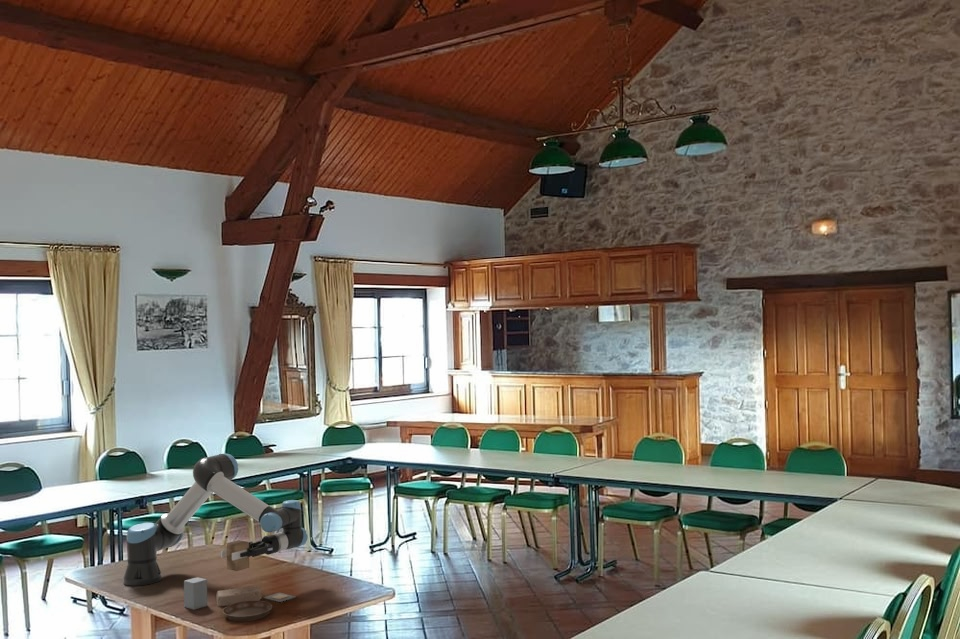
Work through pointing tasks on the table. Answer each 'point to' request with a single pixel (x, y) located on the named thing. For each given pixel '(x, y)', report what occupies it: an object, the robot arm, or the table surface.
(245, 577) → the table surface
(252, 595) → the brick
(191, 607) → the slate block
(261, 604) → the plant saucer
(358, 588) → the table surface
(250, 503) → the robot arm
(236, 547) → the walnut block
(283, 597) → the card
